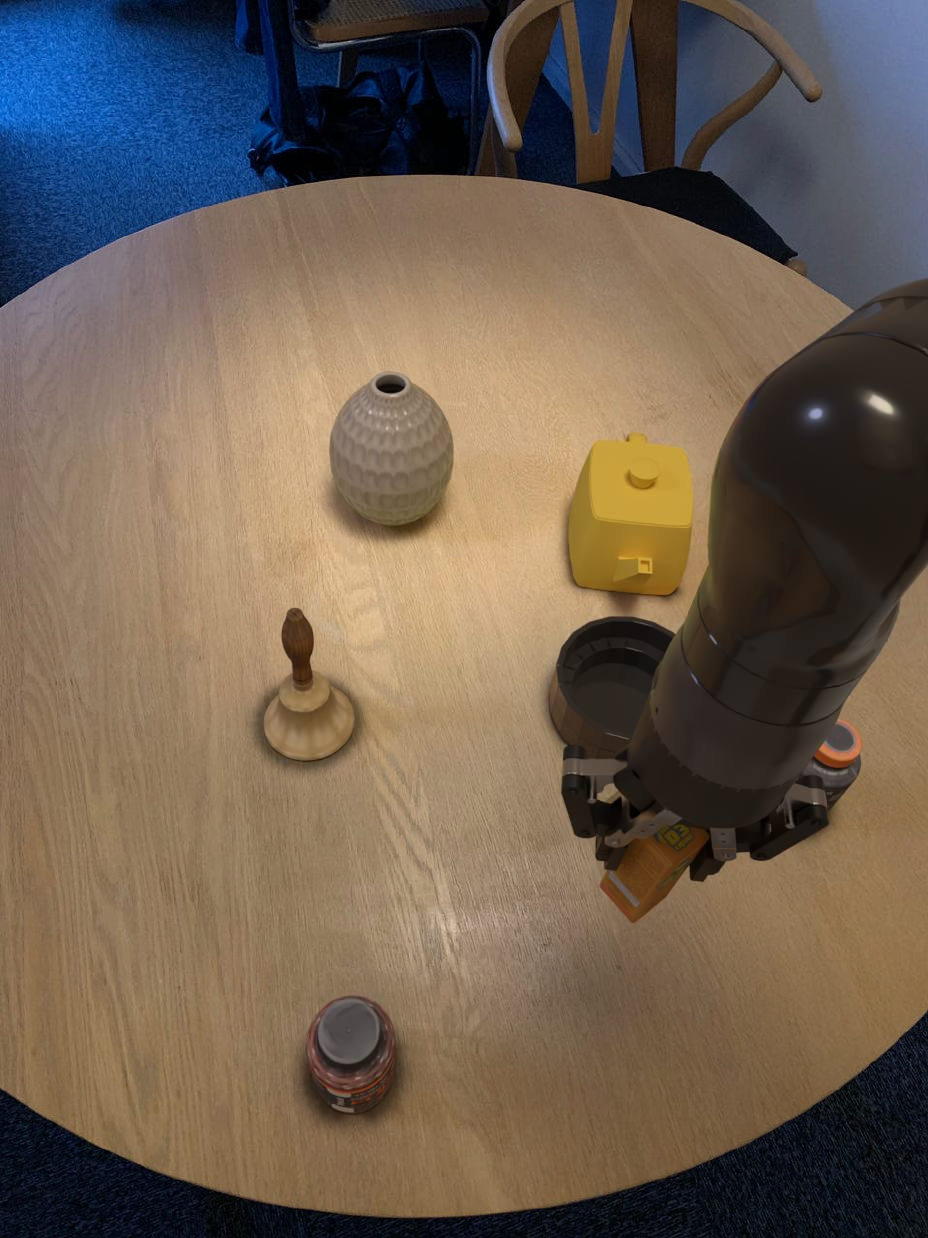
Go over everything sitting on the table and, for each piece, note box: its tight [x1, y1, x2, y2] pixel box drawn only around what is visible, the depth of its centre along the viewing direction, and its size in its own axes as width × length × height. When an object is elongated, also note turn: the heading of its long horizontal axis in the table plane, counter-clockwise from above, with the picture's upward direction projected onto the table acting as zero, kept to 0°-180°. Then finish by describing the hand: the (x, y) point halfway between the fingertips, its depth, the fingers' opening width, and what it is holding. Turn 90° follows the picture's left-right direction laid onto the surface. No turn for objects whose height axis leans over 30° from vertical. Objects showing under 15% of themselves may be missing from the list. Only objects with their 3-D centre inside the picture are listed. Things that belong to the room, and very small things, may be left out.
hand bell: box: [262, 607, 356, 762], centre depth 79 cm, size 8×8×16 cm
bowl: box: [548, 615, 676, 759], centre depth 85 cm, size 13×13×6 cm
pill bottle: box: [796, 717, 863, 813], centre depth 79 cm, size 6×6×11 cm
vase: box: [328, 371, 455, 527], centre depth 96 cm, size 13×13×17 cm
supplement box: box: [599, 825, 710, 924], centre depth 55 cm, size 3×3×10 cm
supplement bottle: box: [305, 994, 398, 1115], centre depth 64 cm, size 6×6×11 cm
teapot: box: [568, 432, 694, 596], centre depth 95 cm, size 20×12×12 cm, turn 175°
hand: (653, 860), depth 55 cm, fingers closed on supplement box, 4 cm apart
